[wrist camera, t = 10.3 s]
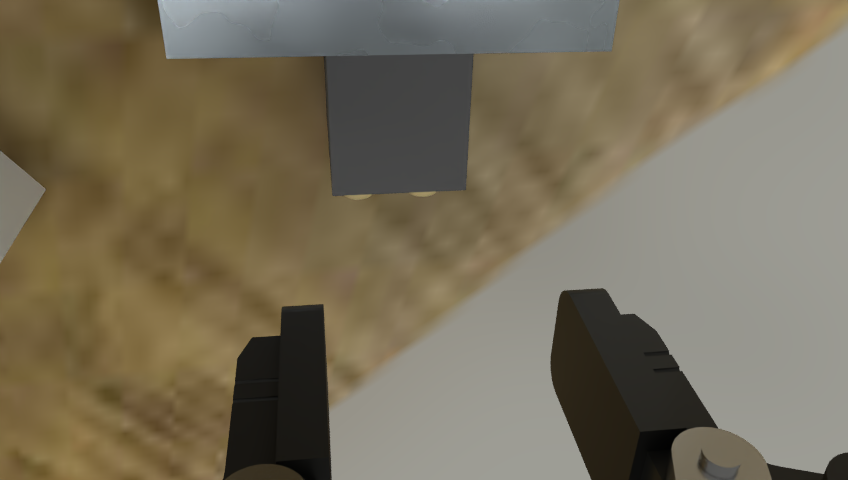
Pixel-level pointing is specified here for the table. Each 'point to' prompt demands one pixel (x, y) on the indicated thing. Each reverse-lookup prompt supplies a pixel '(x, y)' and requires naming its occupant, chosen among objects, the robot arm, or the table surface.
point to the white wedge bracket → (15, 201)
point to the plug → (398, 123)
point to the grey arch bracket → (383, 27)
